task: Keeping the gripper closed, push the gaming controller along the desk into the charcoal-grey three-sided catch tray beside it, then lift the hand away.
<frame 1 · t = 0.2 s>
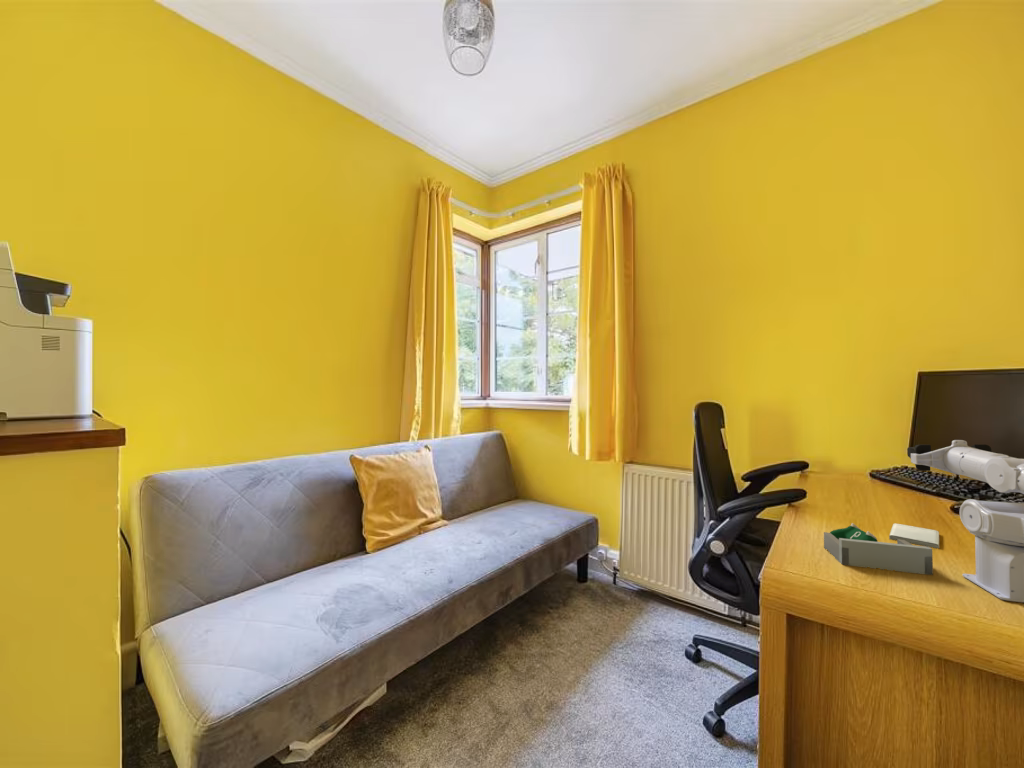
hand: (930, 452, 90), 22 cm above the table, tool horizontal, fingers open, 7 cm apart
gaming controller: (853, 546, 92), on the table
hard drive: (914, 540, 97), on the table
catch tray: (874, 560, 84), on the table
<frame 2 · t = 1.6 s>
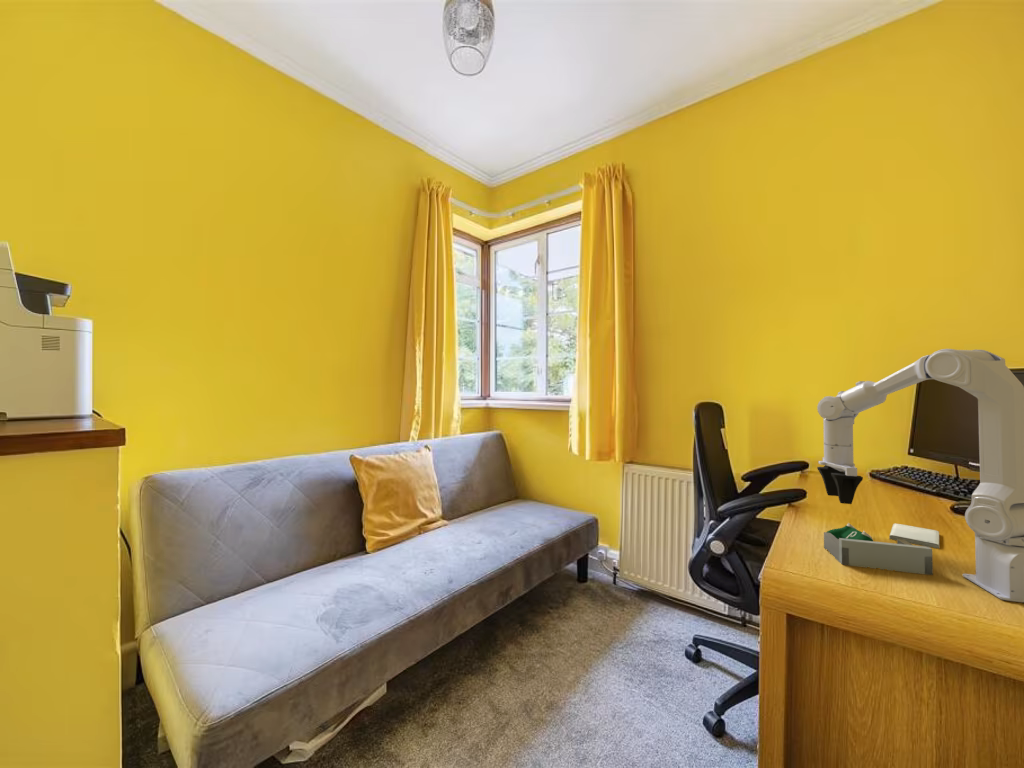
hand: (839, 499, 100), 8 cm above the table, tool pointing down, fingers open, 7 cm apart
nothing on the table moved.
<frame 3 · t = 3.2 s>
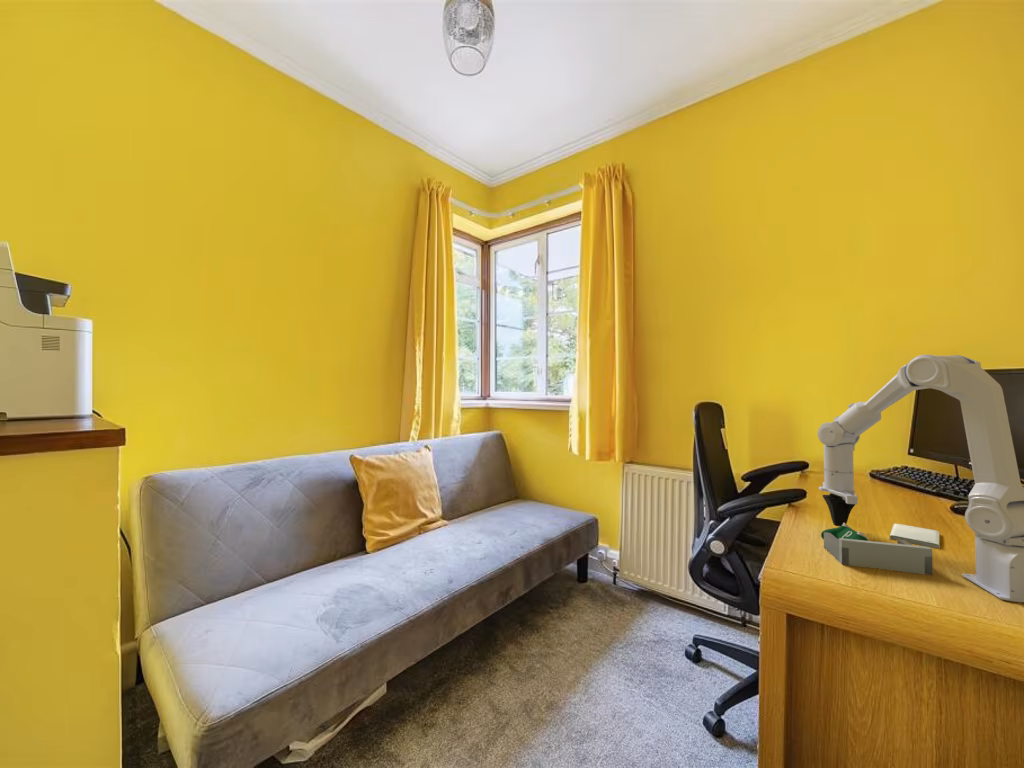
hand: (839, 525, 100), 2 cm above the table, tool pointing down, fingers closed
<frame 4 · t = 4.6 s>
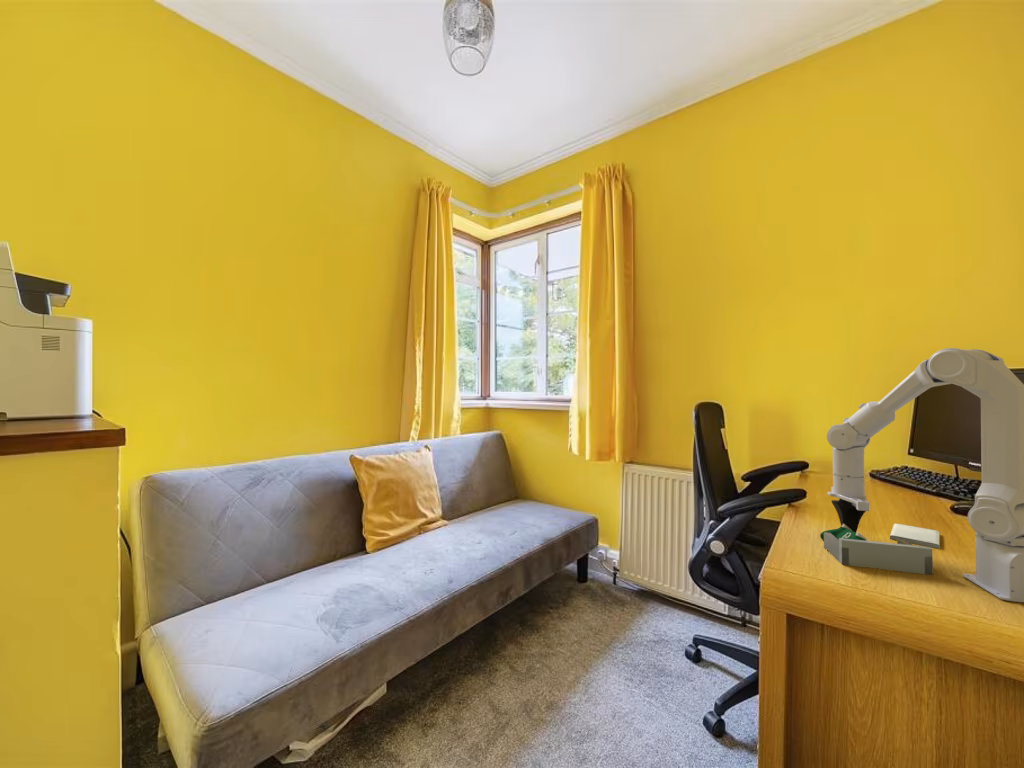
hand: (849, 532, 95), 2 cm above the table, tool pointing down, fingers closed
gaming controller: (843, 547, 91), on the table, touching gripper
everything else where it was.
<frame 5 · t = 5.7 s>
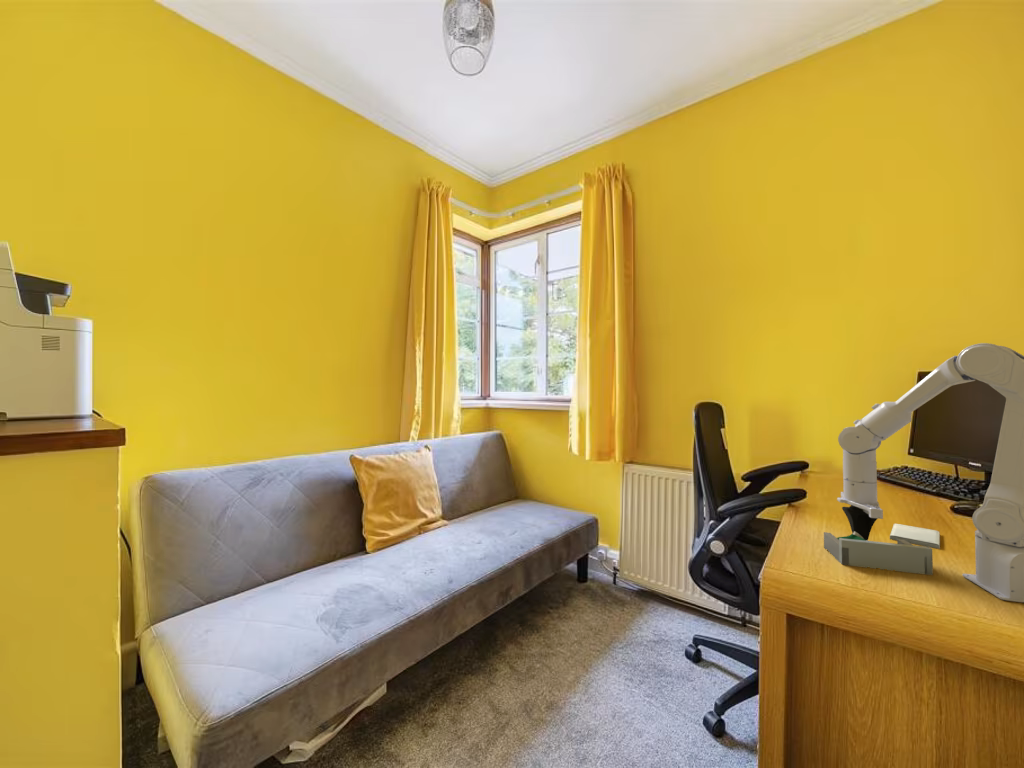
hand: (860, 541, 89), 2 cm above the table, tool pointing down, fingers closed, pressing on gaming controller
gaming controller: (853, 556, 86), resting in catch tray, touching gripper
everything else where it was.
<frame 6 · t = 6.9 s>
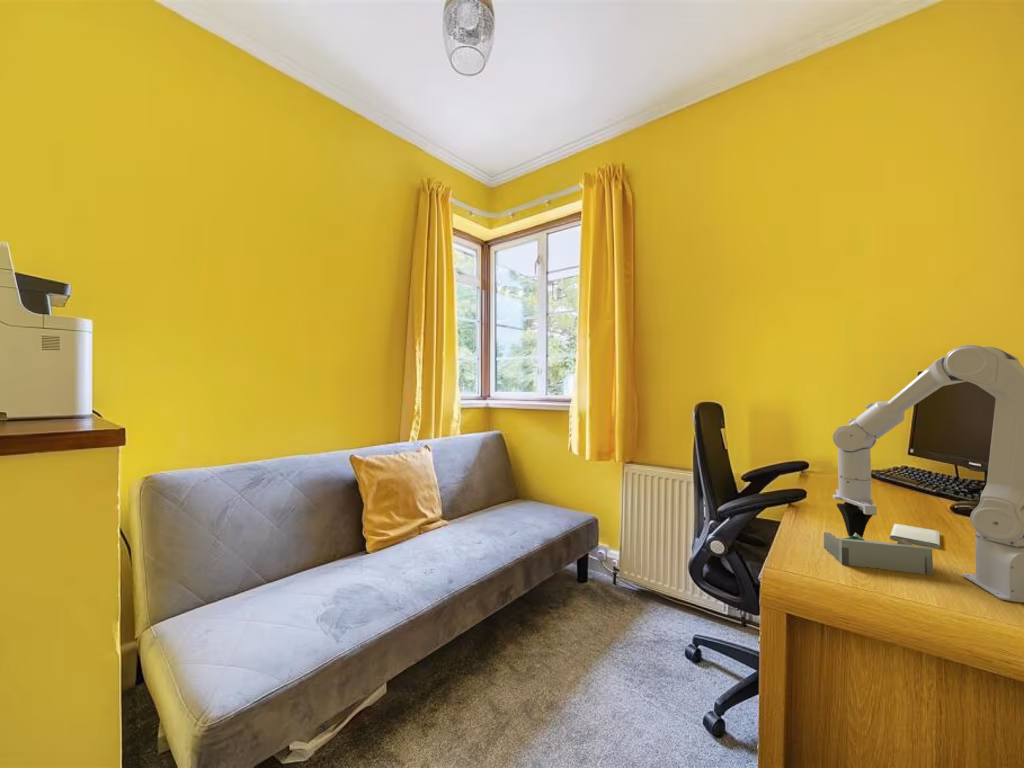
hand: (855, 537, 92), 2 cm above the table, tool pointing down, fingers closed
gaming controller: (854, 558, 86), resting in catch tray
everything else where it was.
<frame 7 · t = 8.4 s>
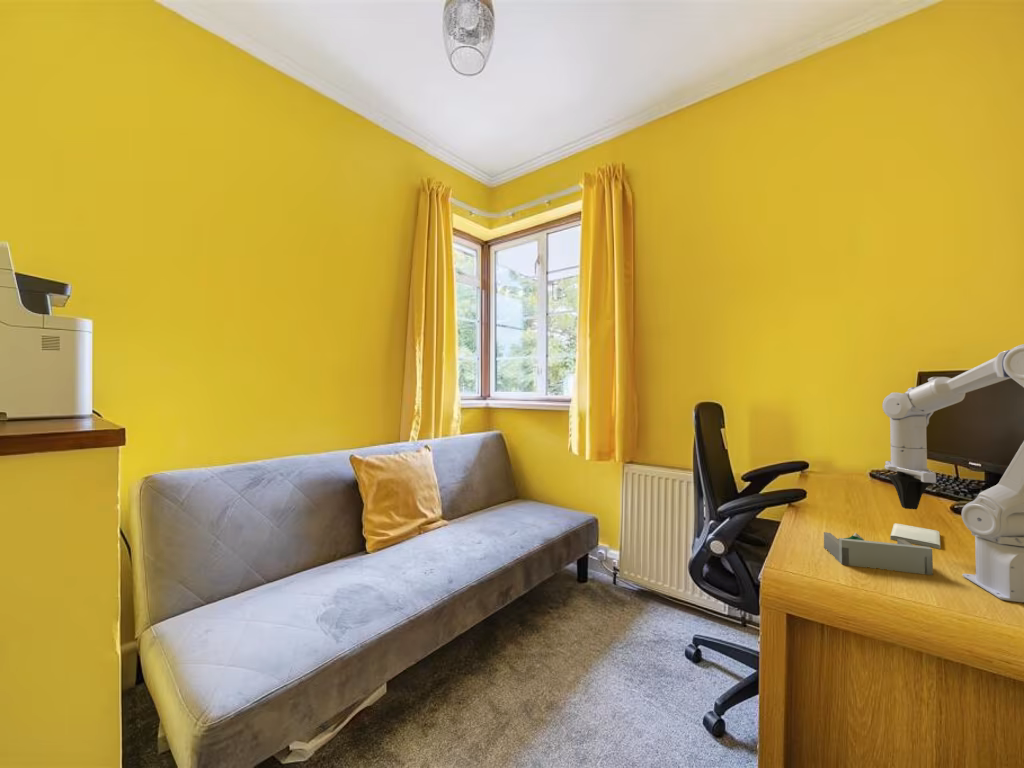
hand: (909, 508, 89), 9 cm above the table, tool pointing down, fingers closed
nothing on the table moved.
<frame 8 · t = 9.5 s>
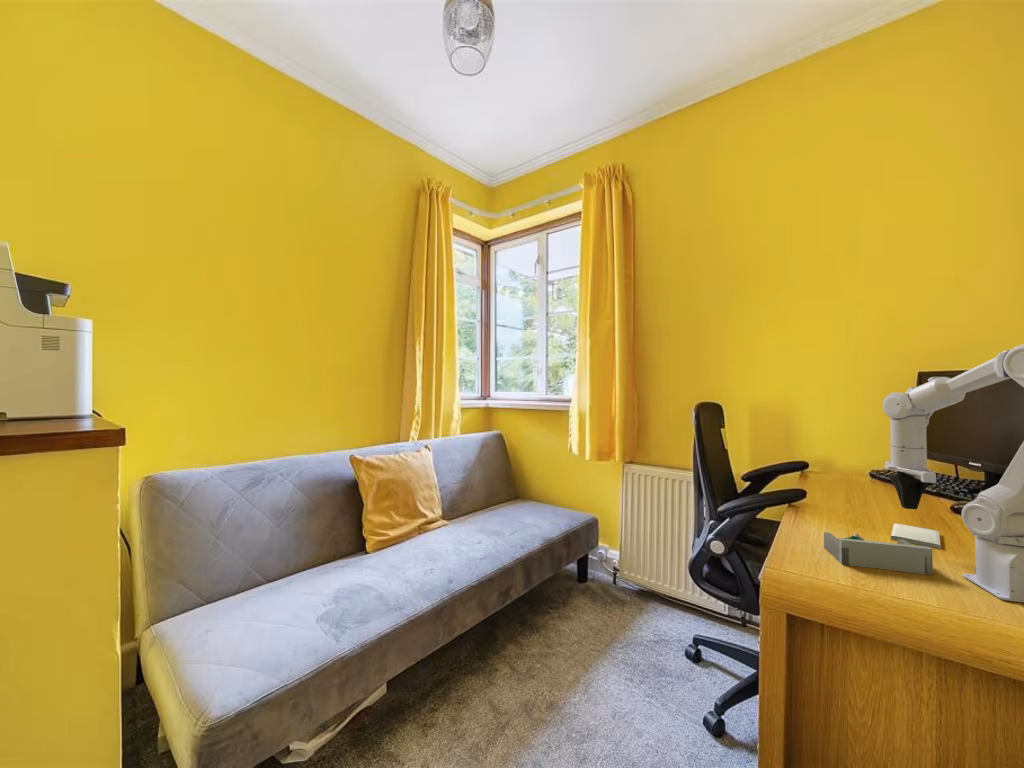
hand: (909, 508, 89), 9 cm above the table, tool pointing down, fingers closed
nothing on the table moved.
at the end: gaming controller 3.1 cm off-centre on the catch tray, point 0.0 cm above the catch tray's base; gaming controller tilted 0°; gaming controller moved 8.0 cm from its start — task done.
